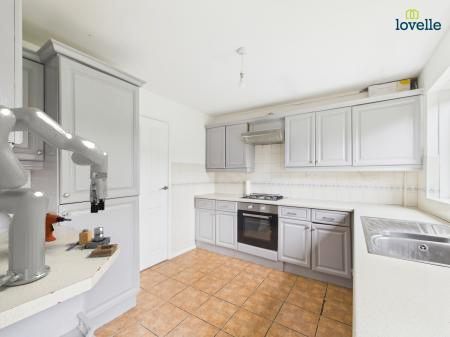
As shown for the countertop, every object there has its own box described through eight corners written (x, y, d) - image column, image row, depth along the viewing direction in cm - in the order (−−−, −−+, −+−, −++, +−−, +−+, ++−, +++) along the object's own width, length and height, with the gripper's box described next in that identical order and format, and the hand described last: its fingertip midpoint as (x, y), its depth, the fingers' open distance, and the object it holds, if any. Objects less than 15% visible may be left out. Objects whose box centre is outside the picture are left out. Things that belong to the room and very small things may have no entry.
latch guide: (84, 249, 98) (84, 247, 98) (67, 250, 97) (67, 248, 97) (95, 240, 111) (95, 238, 111) (81, 241, 110) (81, 239, 110)
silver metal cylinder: (101, 245, 103) (101, 229, 103) (92, 245, 102) (92, 229, 102) (104, 242, 107) (104, 226, 107) (96, 242, 106) (96, 227, 106)
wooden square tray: (111, 255, 91) (111, 250, 91) (91, 257, 90) (91, 251, 90) (117, 248, 99) (117, 243, 99) (99, 250, 98) (99, 245, 98)
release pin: (87, 244, 105) (87, 230, 105) (79, 244, 104) (79, 231, 104) (91, 241, 109) (91, 228, 109) (83, 242, 108) (83, 228, 108)
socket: (104, 247, 101) (104, 242, 101) (86, 248, 100) (86, 243, 100) (110, 241, 109) (110, 237, 109) (93, 242, 107) (93, 237, 107)
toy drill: (66, 244, 105) (66, 215, 105) (37, 242, 108) (37, 213, 108) (75, 241, 109) (75, 213, 109) (47, 239, 113) (47, 211, 113)
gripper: (99, 176, 96) (98, 214, 96) (112, 176, 113) (112, 208, 113) (81, 176, 95) (80, 215, 94) (98, 176, 112) (97, 209, 111)
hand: (97, 211), depth 104 cm, fingers open, 7 cm apart
